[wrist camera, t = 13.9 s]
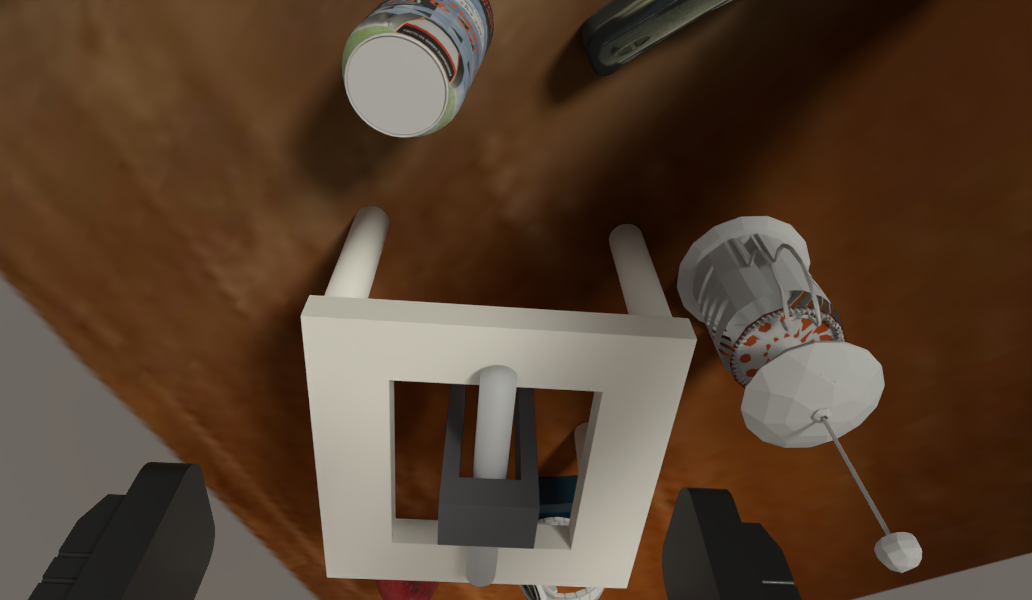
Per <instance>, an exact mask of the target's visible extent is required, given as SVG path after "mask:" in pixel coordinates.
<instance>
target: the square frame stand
mask: <svg viewBox="0 0 1032 600" xmlns="http://www.w3.org/2000/svg"><path fill="white" fill-rule="evenodd" d="M388 228H389V218H388V216H387V214H386V213H385V212H384V211H383V210H382V209H380V208H378V207H375V206H366V207H363V208H361V209H360V210H359V211H358V212H357V213H356V216H355V218H354V221H353V223H352V226H351V228H350V231H349V234H348V236H347V239H346V241H345V244H344V246H343V249H342V251H341V254H340V257H339V259H338V262H337V264H336V267H335V269H334V272H333V274H332V277H331V280H330V282H329V285H328V287H327V290H326V292H325V295H324V296H317V295H309V297H308V300H307V302H306V304H305V307H304V309H303V311H302V314H301V325H302V335H303V345H304V355H305V365H306V375H307V385H308V394H309V404H310V414H311V424H312V434H313V444H314V454H315V464H316V474H317V484H318V494H319V504H320V514H321V523H322V533H323V543H324V553H325V563H326V573H327V578H355V579H382V580H410V581H438V582H465V583H471V584H472V585H474V586H478V587H483V586H487V585H489V584H490V583H493V584H521V585H548V586H576V587H603V588H627V585H628V581H629V578H630V574H631V571H632V567H633V564H634V560H635V557H636V553H637V550H638V546H639V543H640V539H641V536H642V532H643V528H644V525H645V521H646V518H647V514H648V511H649V507H650V504H651V500H652V497H653V493H654V490H655V486H656V483H657V479H658V476H659V472H660V469H661V465H662V462H663V458H664V454H665V451H666V447H667V444H668V440H669V437H670V433H671V430H672V426H673V423H674V419H675V416H676V412H677V409H678V405H679V402H680V398H681V395H682V391H683V387H684V384H685V380H686V377H687V373H688V370H689V366H690V363H691V359H692V356H693V352H694V349H695V345H696V342H697V338H696V335H695V333H694V330H693V328H692V325H691V323H690V320H689V318H676V317H672V315H671V312H670V310H669V307H668V304H667V301H666V299H665V296H664V293H663V290H662V288H661V285H660V282H659V279H658V277H657V274H656V271H655V268H654V266H653V263H652V260H651V257H650V255H649V252H648V249H647V246H646V244H645V241H644V238H643V235H642V233H641V231H640V229H639V228H638V227H637V226H635V225H632V224H622V225H619V226H617V227H616V228H615V229H614V230H613V231H612V232H611V234H610V236H609V244H610V248H611V251H612V255H613V259H614V262H615V266H616V270H617V273H618V277H619V281H620V284H621V288H622V292H623V295H624V299H625V303H626V306H627V310H628V314H629V315H627V314H610V313H594V312H578V311H561V310H545V309H529V308H512V307H496V306H480V305H463V304H447V303H431V302H414V301H398V300H382V299H368V297H369V293H370V290H371V286H372V283H373V279H374V276H375V273H376V269H377V266H378V262H379V259H380V255H381V252H382V249H383V245H384V242H385V238H386V235H387V232H388ZM394 380H395V381H414V382H432V383H451V384H469V385H480V386H479V400H478V413H477V426H476V440H475V453H474V466H473V478H486V479H506V476H507V467H508V458H509V449H510V441H511V432H512V423H513V414H514V405H515V396H516V387H525V388H543V389H562V390H580V391H594V397H593V402H592V407H591V412H590V417H589V422H586V423H582V424H580V425H578V426H577V427H576V429H575V430H574V437H575V445H576V453H577V461H578V469H579V474H578V479H577V485H576V490H575V495H574V500H573V505H572V510H571V516H570V521H569V526H566V525H542V524H537V530H536V537H535V544H534V549H524V548H500V547H477V546H453V545H437V539H438V520H422V519H398V518H396V505H395V425H394Z"/></svg>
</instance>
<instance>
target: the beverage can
mask: <svg viewBox="0 0 1032 600" xmlns="http://www.w3.org/2000/svg"><path fill="white" fill-rule="evenodd" d="M493 28H494V22H493V14H492V10H491V6H490V3H489V1H488V0H384V1H383V2H382V3H381V4H380V5H379V6H378V7H377V8H375V9H374V10H373V11H372V12H371V13H370V14H369V15H368V16H367V17H366V18H365V19H364V20H363V21H362V22H361V23H360V24H359V25H358V26H357V27H356V29H355V30H354V31H353V32H352V33H351V35H350V37H349V39H348V41H347V42H346V46H345V49H344V52H343V58H342V76H343V80H344V85H345V88H346V93H347V96H348V98H349V101H350V103H351V105H352V106H353V108H354V110H355V111H356V113H357V114H358V115H359V116H360V118H361V119H363V120H364V121H365V122H366V123H367V124H368V125H370V126H371V127H372V128H374V129H375V130H377V131H379V132H381V133H384V134H387V135H390V136H394V137H419V136H424V135H428V134H431V133H433V132H436V131H438V130H439V129H441V128H443V127H444V126H446V125H447V124H448V123H449V122H450V121H451V120H452V119H453V118H454V116H455V115H456V114H457V112H458V111H459V109H460V107H461V105H462V103H463V101H464V99H465V96H466V94H467V92H468V90H469V88H470V86H471V84H472V82H473V80H474V77H475V75H476V73H477V71H478V69H479V67H480V65H481V63H482V61H483V58H484V56H485V54H486V52H487V50H488V48H489V46H490V43H491V40H492V36H493Z"/></svg>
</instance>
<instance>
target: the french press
mask: <svg viewBox="0 0 1032 600" xmlns="http://www.w3.org/2000/svg"><path fill="white" fill-rule="evenodd" d="M809 265H810V259H809V255H808V250H807V246H806V242H805V240H804V239H803V238H802V237H801V236H800V235H799V234H798V233H797V231H796V230H795V229H794V228H793V227H792V226H791V225H789V224H787V223H784V222H782V221H779V220H776V219H774V218H771V217H769V216H751V217H738V218H736V219H733V220H730V221H728V222H725V223H722V224H720V225H717V226H714V227H713V228H712V229H710V230H709V231H708V232H707V233H705V234H704V235H703V236H702V237H700V238H699V239H698V240H697V241H695V242H694V243H693V244H692V246H691V247H690V249H689V251H688V252H687V254H686V256H685V257H684V259H683V260H682V262H681V264H680V266H679V274H678V281H677V289H678V292H679V295H680V298H681V301H682V303H683V306H684V307H685V308H686V309H687V310H688V311H689V312H690V313H691V314H692V315H693V316H694V317H696V318H697V319H698V320H699V321H701V322H704V323H705V324H706V326H707V325H708V326H709V327H708V326H707V328H708V331H709V334H710V336H711V338H712V340H713V343H714V345H715V347H716V350H717V352H718V354H719V356H720V358H721V360H722V362H723V365H724V367H725V369H726V370H728V371H729V372H730V373H731V374H732V375H733V376H734V379H735V380H736V381H737V382H738V383H739V384H740V385H741V386H742V387H743V388H745V393H744V397H743V402H742V406H741V411H742V414H743V417H744V420H745V423H746V426H747V428H748V429H749V430H751V431H752V432H753V433H754V434H755V435H756V436H758V437H759V438H760V439H761V440H762V441H764V442H768V443H771V444H774V445H778V446H781V447H784V448H795V447H813V446H816V445H819V444H822V443H826V442H829V441H832V440H833V441H834V442H835V444H836V446H837V448H838V450H839V451H840V453H841V455H842V457H843V459H844V460H845V462H846V464H847V466H848V467H849V469H850V471H851V473H852V475H853V476H854V478H855V480H856V482H857V484H858V485H859V487H860V489H861V491H862V493H863V494H864V496H865V498H866V500H867V502H868V503H869V505H870V507H871V509H872V510H873V512H874V514H875V516H876V518H877V519H878V521H879V523H880V525H881V527H882V528H883V530H884V532H885V534H886V536H885V537H883V538H881V539H880V540H879V541H878V542H877V543H876V546H875V548H874V550H875V553H876V555H877V557H878V559H879V560H880V561H881V562H882V563H883V564H884V565H886V566H887V567H888V568H889V569H890V570H893V571H897V572H901V573H903V572H905V571H907V570H910V569H912V568H914V567H917V566H918V564H919V563H920V561H921V559H922V549H921V547H920V545H919V543H918V542H917V540H916V538H915V537H914V536H913V535H912V534H910V533H907V532H897V533H893V534H891V533H890V531H889V530H888V528H887V526H886V524H885V523H884V521H883V519H882V517H881V515H880V514H879V512H878V510H877V508H876V507H875V505H874V503H873V501H872V500H871V498H870V496H869V494H868V492H867V491H866V489H865V487H864V485H863V484H862V482H861V480H860V478H859V477H858V475H857V473H856V471H855V469H854V468H853V466H852V464H851V462H850V461H849V459H848V457H847V455H846V454H845V452H844V450H843V448H842V446H841V445H840V443H839V441H838V439H837V438H839V437H841V436H842V435H844V434H846V433H847V432H849V431H851V430H852V429H854V428H856V427H857V426H859V425H860V424H861V423H862V422H863V421H864V420H865V419H866V418H867V417H868V415H869V414H870V413H871V412H872V411H873V410H874V409H875V408H876V407H877V404H878V402H879V399H880V397H881V394H882V391H883V389H884V386H885V385H884V378H883V372H882V366H881V365H880V363H879V362H878V361H877V360H876V359H875V358H874V357H873V356H872V355H871V353H870V352H869V351H868V350H866V349H863V348H860V347H858V346H855V345H852V344H850V343H847V342H846V340H845V335H844V331H843V327H842V326H841V322H840V317H839V315H838V314H837V312H836V310H835V309H834V307H833V306H832V304H831V303H830V301H829V300H828V298H827V297H826V295H825V294H824V293H823V292H822V290H821V288H820V287H819V286H818V285H817V283H816V282H815V281H814V279H813V278H812V276H811V275H810V273H809V272H808V269H809ZM809 275H810V276H809ZM815 284H816V285H817V286H816V285H815ZM803 291H807V292H809V293H808V295H807V296H806V297H805V298H804V299H803V300H802V301H801V302H800V303H799V304H798V305H797V306H796V307H790V306H791V305H792V304H793V303H794V302H795V301H796V300H797V299H798V298H799V297H800V295H801V294H802V293H803ZM816 295H819V299H818V300H817V297H816ZM823 298H825V300H826V309H825V311H821V310H819V308H820V307H821V305H822V304H823ZM811 299H812V300H813V304H814V305H813V306H812V307H806V306H807V304H808V303H809V302H810V300H811ZM830 304H831V306H832V307H833V314H834V317H833V316H832V315H831V314H830ZM714 326H716V327H714ZM725 329H726V331H727V332H726V331H724V330H725ZM712 330H714V331H716V332H715V333H714V332H712ZM722 335H725V336H727V337H730V339H731V341H732V342H730V341H728V340H726V339H724V338H721V336H722ZM712 336H714V339H713V337H712ZM720 342H722V343H724V344H727V345H729V346H731V347H733V349H732V350H729V349H727V348H725V347H723V346H722V345H720ZM719 348H720V349H721V350H723V351H724V352H725V353H727V354H730V355H731V359H729V358H727V357H726V356H725V355H723V354H722V353H721V352H719Z"/></svg>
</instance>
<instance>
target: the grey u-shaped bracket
mask: <svg viewBox="0 0 1032 600" xmlns="http://www.w3.org/2000/svg"><path fill="white" fill-rule="evenodd" d="M465 390H466V384H451V387H450V397H449V407H448V417H447V427H446V436H445V446H444V456H443V466H442V476H441V486H440V496H439V509H438V539H437V545H453V546H477V547H500V548H524V549H534V544H535V537H536V530H537V524H538V517H539V511H540V503H539V484H538V464H537V445H536V426H535V407H534V388H525V387H518V391H517V400H516V409H515V479H516V480H506V479H486V478H465V477H460V465H461V451H462V437H463V423H464V408H465Z"/></svg>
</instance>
